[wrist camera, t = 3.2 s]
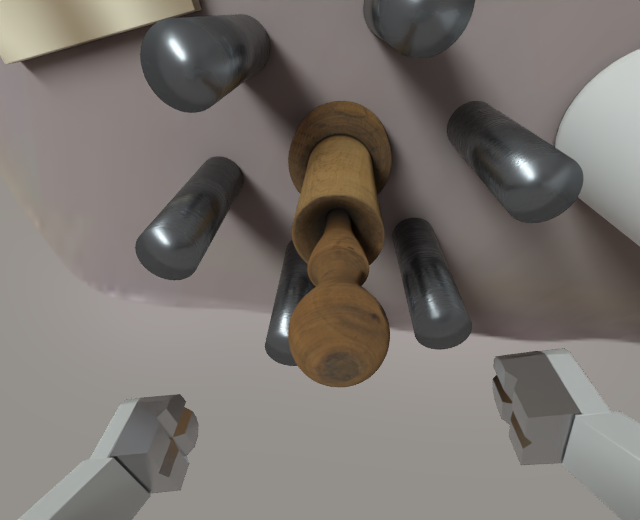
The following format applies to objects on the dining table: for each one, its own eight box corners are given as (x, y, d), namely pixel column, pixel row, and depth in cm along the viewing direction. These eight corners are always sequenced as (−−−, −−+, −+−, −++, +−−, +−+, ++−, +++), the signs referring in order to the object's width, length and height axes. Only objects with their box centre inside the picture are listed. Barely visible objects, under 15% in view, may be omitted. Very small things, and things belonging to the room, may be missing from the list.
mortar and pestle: (290, 99, 23) (197, 265, 8) (394, 101, 23) (497, 276, 8) (293, 197, 27) (234, 433, 12) (382, 199, 26) (437, 444, 12)
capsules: (504, -60, 18) (639, -117, 10) (491, 239, 28) (554, 336, 20) (143, 40, 21) (19, 61, 13) (243, 278, 31) (208, 375, 23)
